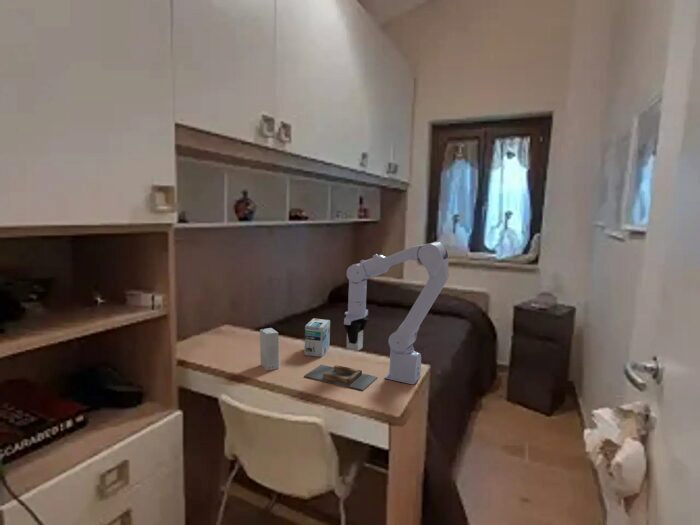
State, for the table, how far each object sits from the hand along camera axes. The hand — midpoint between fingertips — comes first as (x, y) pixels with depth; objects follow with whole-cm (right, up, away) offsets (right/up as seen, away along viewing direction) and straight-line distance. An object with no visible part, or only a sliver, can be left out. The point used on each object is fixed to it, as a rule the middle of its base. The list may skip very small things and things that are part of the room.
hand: (355, 341), depth 148 cm
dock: (-5, -10, -8) cm, 13 cm away
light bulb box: (-14, -7, +15) cm, 21 cm away
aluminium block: (0, -2, 0) cm, 2 cm away
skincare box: (-28, -8, -1) cm, 29 cm away
